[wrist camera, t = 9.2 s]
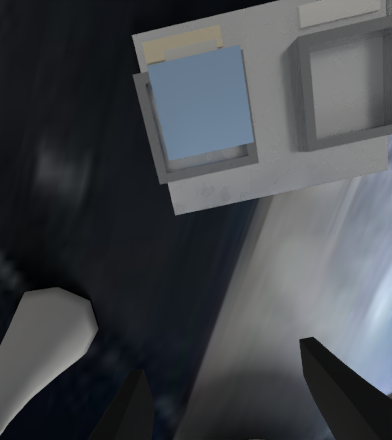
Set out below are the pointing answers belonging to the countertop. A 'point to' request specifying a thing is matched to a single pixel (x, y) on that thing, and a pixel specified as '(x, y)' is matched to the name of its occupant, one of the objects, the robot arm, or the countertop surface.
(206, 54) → the plug
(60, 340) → the flask
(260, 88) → the panel
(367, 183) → the countertop surface
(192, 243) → the countertop surface
